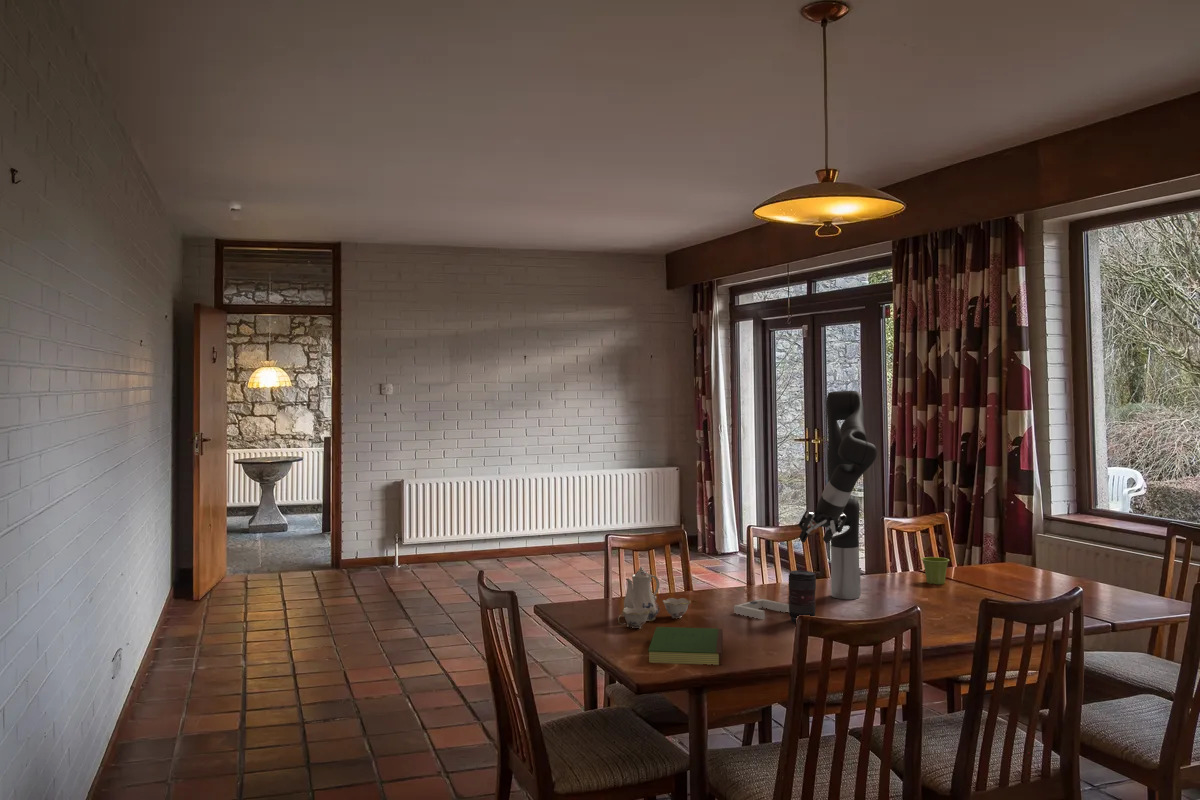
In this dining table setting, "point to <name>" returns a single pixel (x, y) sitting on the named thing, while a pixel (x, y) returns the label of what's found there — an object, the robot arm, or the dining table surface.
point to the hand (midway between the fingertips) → (813, 541)
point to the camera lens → (801, 593)
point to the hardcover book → (686, 645)
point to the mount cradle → (753, 607)
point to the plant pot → (935, 569)
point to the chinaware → (647, 601)
